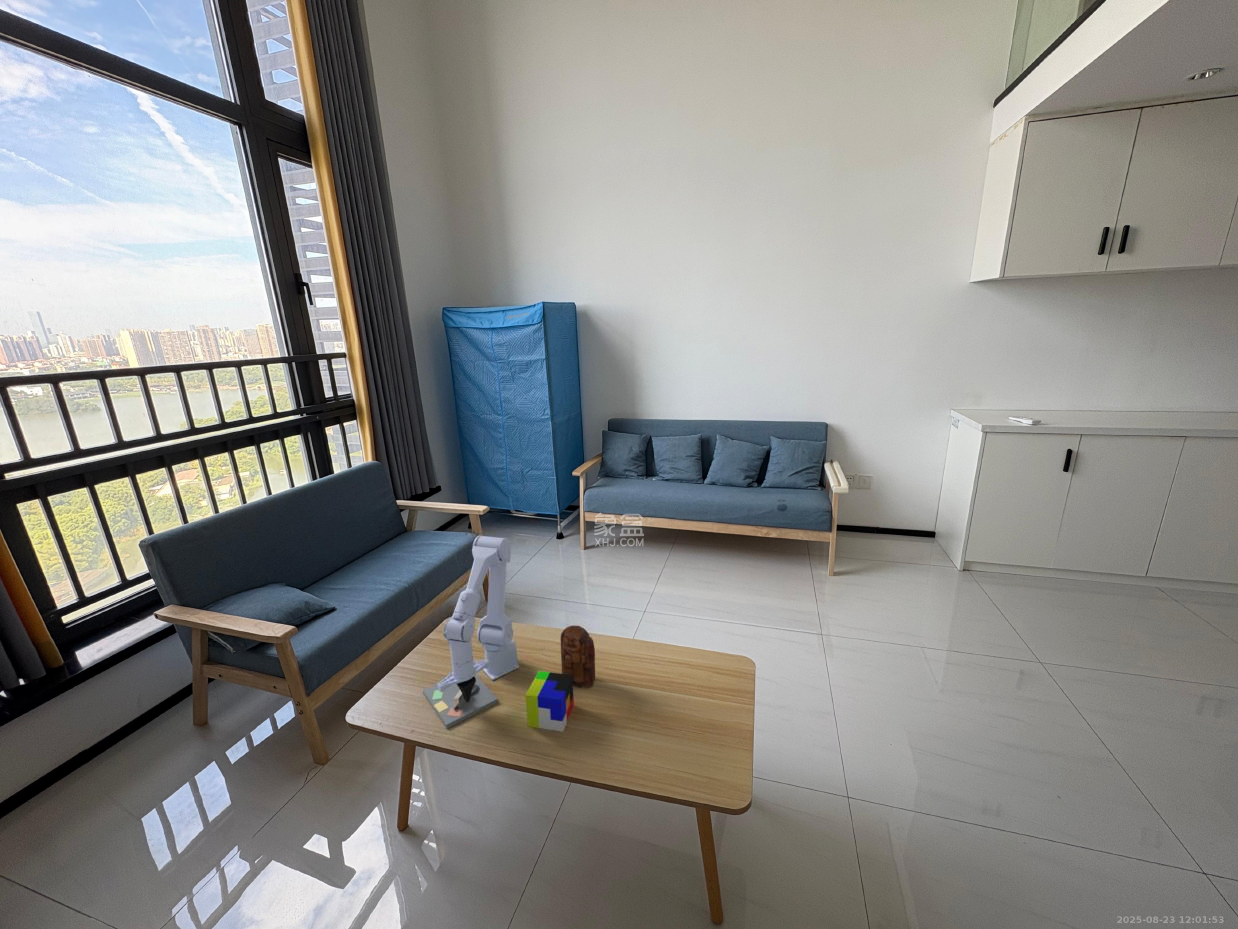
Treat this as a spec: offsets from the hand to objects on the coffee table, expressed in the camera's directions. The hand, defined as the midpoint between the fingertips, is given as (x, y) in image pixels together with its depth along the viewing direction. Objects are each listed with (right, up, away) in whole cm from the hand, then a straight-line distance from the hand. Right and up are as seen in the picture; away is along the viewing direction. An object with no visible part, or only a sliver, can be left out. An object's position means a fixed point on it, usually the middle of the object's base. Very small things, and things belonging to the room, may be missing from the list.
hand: (466, 700), depth 138 cm
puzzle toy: (+24, -3, -2) cm, 25 cm away
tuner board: (-4, -2, +5) cm, 6 cm away
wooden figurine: (+30, 0, +12) cm, 33 cm away
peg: (-2, -1, +3) cm, 4 cm away
